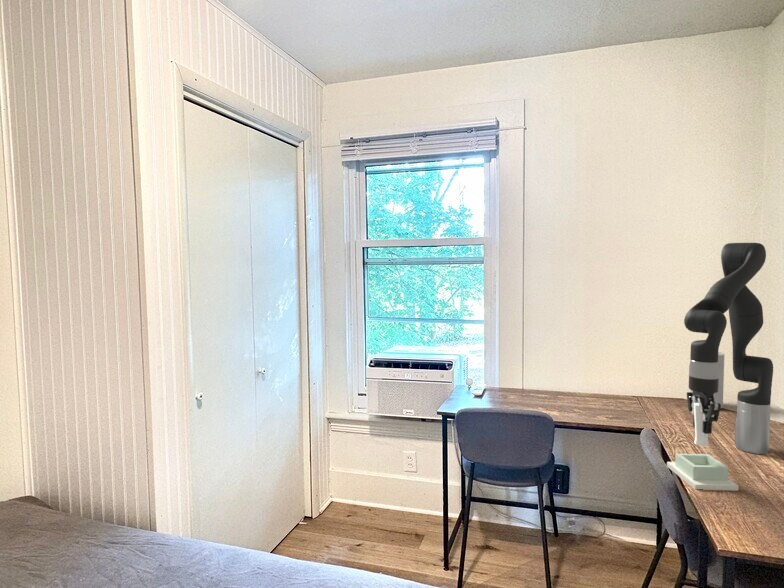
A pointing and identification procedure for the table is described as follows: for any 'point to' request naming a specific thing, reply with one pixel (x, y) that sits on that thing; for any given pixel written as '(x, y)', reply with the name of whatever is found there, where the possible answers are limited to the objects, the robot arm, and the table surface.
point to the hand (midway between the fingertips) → (702, 430)
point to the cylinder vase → (720, 380)
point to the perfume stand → (702, 472)
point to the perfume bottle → (699, 427)
